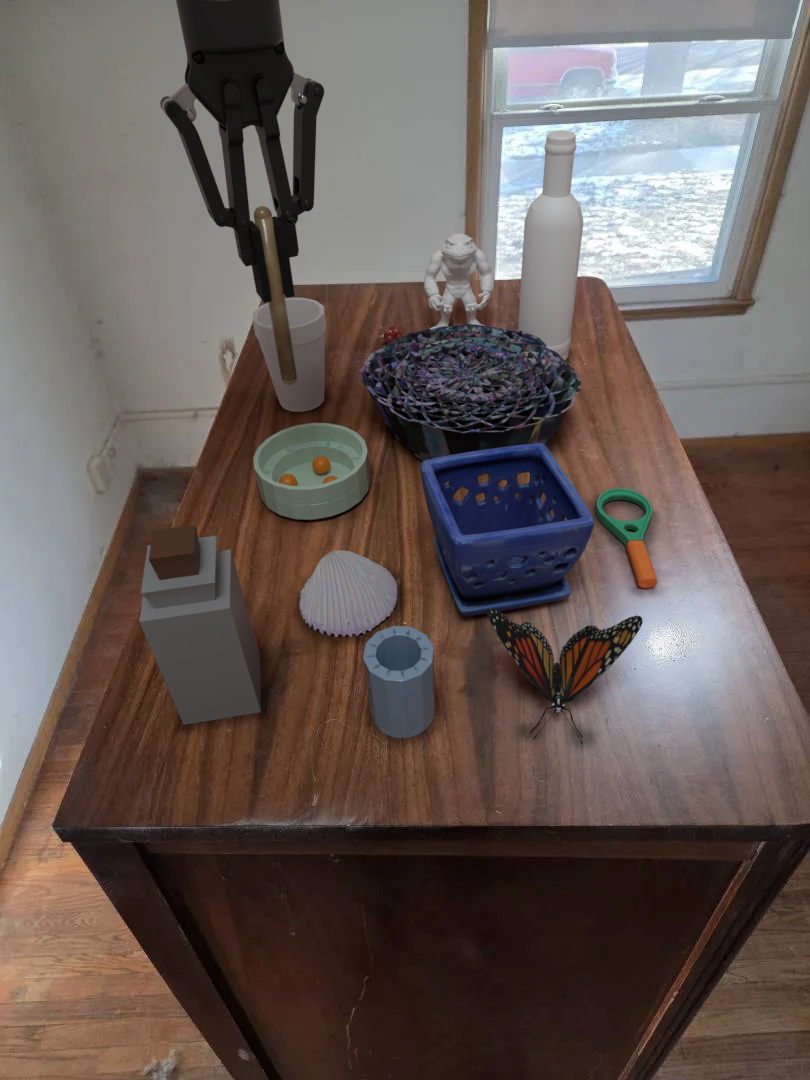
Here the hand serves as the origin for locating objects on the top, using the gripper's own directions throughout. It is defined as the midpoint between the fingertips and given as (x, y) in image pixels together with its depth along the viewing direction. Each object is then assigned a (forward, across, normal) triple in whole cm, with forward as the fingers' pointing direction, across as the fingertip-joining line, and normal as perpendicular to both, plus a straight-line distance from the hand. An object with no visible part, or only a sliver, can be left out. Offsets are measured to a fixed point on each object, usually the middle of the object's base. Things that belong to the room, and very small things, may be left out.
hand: (275, 293), depth 70 cm
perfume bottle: (+26, -16, -22) cm, 37 cm away
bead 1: (+24, -2, +3) cm, 24 cm away
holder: (+25, -2, -32) cm, 41 cm away
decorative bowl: (+25, +24, +5) cm, 36 cm away
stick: (+10, 0, 0) cm, 10 cm away
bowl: (+25, +2, +2) cm, 26 cm away
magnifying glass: (+25, +29, -22) cm, 45 cm away
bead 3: (+24, +3, 0) cm, 24 cm away
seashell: (+26, -1, -17) cm, 31 cm away
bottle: (+25, +43, +18) cm, 53 cm away
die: (+26, +24, +32) cm, 48 cm away
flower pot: (+26, +14, -21) cm, 36 cm away
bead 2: (+24, +3, +4) cm, 24 cm away
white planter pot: (+26, +6, +23) cm, 35 cm away
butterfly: (+26, +10, -36) cm, 46 cm away
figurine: (+25, +36, +31) cm, 54 cm away
